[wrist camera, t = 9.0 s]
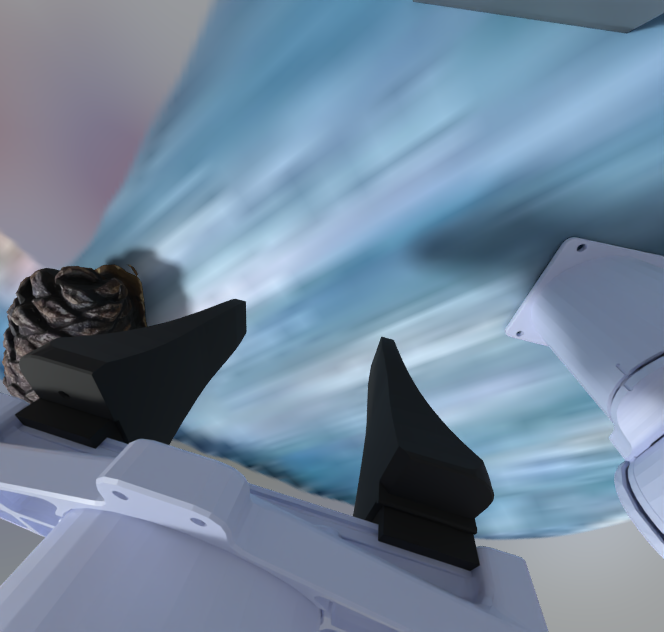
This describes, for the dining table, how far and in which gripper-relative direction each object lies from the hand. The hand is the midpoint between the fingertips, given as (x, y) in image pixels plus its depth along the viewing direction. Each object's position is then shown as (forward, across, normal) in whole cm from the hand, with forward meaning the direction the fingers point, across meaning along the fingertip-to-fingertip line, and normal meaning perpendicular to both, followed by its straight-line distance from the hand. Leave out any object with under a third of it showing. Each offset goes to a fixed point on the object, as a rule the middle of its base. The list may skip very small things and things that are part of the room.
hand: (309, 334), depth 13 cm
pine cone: (+10, +25, +12) cm, 29 cm away
